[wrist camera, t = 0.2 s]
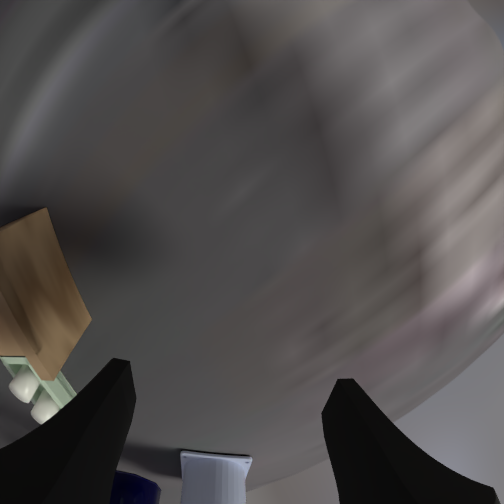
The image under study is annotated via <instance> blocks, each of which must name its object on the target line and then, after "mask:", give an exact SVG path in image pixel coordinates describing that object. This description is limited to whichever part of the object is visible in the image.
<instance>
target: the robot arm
mask: <svg viewBox="0 0 504 504" xmlns="http://www.w3.org/2000/svg"><path fill="white" fill-rule="evenodd" d="M135 403H136V394H135V388H134V383H133V377H132V371H131V365H130V361H127V360H122V359H117V358H113V359H111V360H110V361H109V362H108V363H107V365H106V366H105V367H104V368H103V369H102V370H101V371H100V372H99V373H98V374H97V375H96V376H95V377H94V378H93V379H92V380H91V381H90V382H89V383H88V384H87V385H86V386H85V387H84V388H83V389H82V390H81V391H80V392H79V393H78V394H77V395H76V396H75V397H74V398H73V399H72V400H71V401H70V402H68V403H67V404H66V405H65V406H64V407H63V408H62V409H60V410H59V411H58V412H57V413H56V414H55V415H53V416H52V417H51V418H50V419H48V420H47V421H46V422H44V423H43V424H42V425H40V426H39V427H37V428H36V429H34V430H33V431H31V432H30V433H28V434H27V435H25V436H23V437H22V438H20V439H19V440H17V441H15V442H13V443H11V444H9V445H7V446H5V447H3V448H1V449H0V504H110V497H111V490H112V484H113V479H114V475H115V471H116V468H117V465H118V462H119V459H120V456H121V452H122V449H123V446H124V443H125V440H126V437H127V434H128V431H129V428H130V425H131V422H132V417H133V413H134V408H135ZM321 414H322V423H323V431H324V438H325V442H326V446H327V450H328V453H329V457H330V461H331V465H332V468H333V472H334V476H335V480H336V483H337V488H338V493H339V501H340V504H500V501H499V499H498V497H497V495H496V493H495V490H494V488H493V487H490V486H487V485H484V484H481V483H478V482H476V481H473V480H471V479H469V478H467V477H465V476H462V475H460V474H458V473H457V472H455V471H453V470H451V469H449V468H448V467H446V466H444V465H443V464H441V463H440V462H438V461H437V460H435V459H434V458H432V457H431V456H429V455H428V454H427V453H425V452H424V451H423V450H422V449H421V448H419V447H418V446H417V445H415V444H414V443H413V442H412V441H411V440H410V439H409V438H408V437H406V436H405V435H404V434H403V433H402V432H401V431H400V430H399V429H398V428H397V427H396V426H395V425H394V424H393V423H392V422H391V421H390V420H389V419H388V418H387V416H386V415H385V414H384V413H383V412H382V411H381V410H380V409H379V408H378V407H377V405H376V404H375V403H374V402H373V401H372V400H371V399H370V397H369V396H368V395H367V394H366V393H365V392H364V390H363V389H362V388H361V387H360V386H359V385H358V384H357V382H356V381H355V380H354V379H337V382H336V384H335V386H334V388H333V390H332V392H331V395H330V397H329V399H328V401H327V403H326V405H325V407H324V409H323V411H322V413H321ZM180 456H181V470H182V481H183V485H182V495H181V504H246V495H245V478H246V476H247V473H248V471H249V468H250V465H251V463H252V457H249V456H231V455H218V454H208V453H199V452H191V451H181V453H180Z"/></svg>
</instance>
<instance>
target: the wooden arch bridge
mask: <svg viewBox="0 0 504 504" xmlns="http://www.w3.org/2000/svg"><path fill="white" fill-rule="evenodd" d="M91 320H92V319H91V317H90V315H89V313H88V311H87V309H86V306H85V304H84V302H83V300H82V298H81V296H80V294H79V291H78V289H77V287H76V285H75V282H74V280H73V278H72V275H71V273H70V271H69V268H68V266H67V263H66V261H65V258H64V256H63V253H62V251H61V248H60V245H59V243H58V240H57V237H56V234H55V231H54V228H53V225H52V222H51V219H50V216H49V213H48V210H47V207H46V208H43V209H41V210H38V211H36V212H33V213H31V214H29V215H26V216H24V217H22V218H19V219H17V220H15V221H13V222H10V223H8V224H6V225H4V226H2V227H0V355H1V356H25V357H26V358H27V360H28V361H29V363H30V364H31V366H32V367H33V369H34V370H35V372H36V373H37V375H38V376H39V377H40V379H41V380H46V381H54V380H55V378H56V376H57V375H58V373H59V371H60V369H61V368H62V366H63V364H64V363H65V361H66V359H67V358H68V356H69V355H70V353H71V351H72V350H73V348H74V347H75V345H76V343H77V342H78V340H79V339H80V337H81V336H82V334H83V332H84V331H85V329H86V328H87V326H88V325H89V323H90V322H91Z"/></svg>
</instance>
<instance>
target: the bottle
mask: <svg viewBox="0 0 504 504" xmlns="http://www.w3.org/2000/svg"><path fill="white" fill-rule="evenodd" d="M160 493H161V489H160V488H159V487H158V485H157V484H156V483H154V482H152V481H150V480H147V479H145V478H143V477H140V476H138V475H136V474H131V473H126V472H121V471H115V475H114V479H113V484H112V490H111V497H110V504H159V499H160Z"/></svg>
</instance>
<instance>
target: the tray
mask: <svg viewBox="0 0 504 504" xmlns="http://www.w3.org/2000/svg"><path fill="white" fill-rule="evenodd" d="M0 359H1V361H2V362H3V364H4V365H5V367H6V368H7V369H8V371H9V372H10V374H11V375H12V377H13V378H14V379H13V380H12V382H11V383H10V385H9V388H10V390H11V392H12V393H13V394H14V395H15V396H16V397H17V398H18V399H19V400H21V401H23V402H25V403H29V402H30V400H31V402H32V403H33V404H34V407H33V409H32V411H31V416H32V417H33V418H34V419H35V420H36V421H37V422H38V423H40V424H41V425H42V424H43V423H44V422H46V421H47V420H48V419H50V418H51V417H52V416H53V415H55V414H56V413H57V412H58V411H59V410H60V409H62V408H63V407H64V406H65V405H66V404H67V403H68V402H70V401H71V400H72V399H73V398H74V397H75V396H76V395H77V394H76V392H75V391H74V390H73V388H72V387H71V386H70V384H69V383H68V381H67V380H66V379H65V377H64V376H63V374H62V373H61V371H59V373H58V375H57V376H56V378H55V380H54V381H46V380H41V379H40V377H39V376H38V375H37V373H36V372H35V370H34V369H33V367H32V366H31V364H30V363H29V361H28V360H27V358H26V357H25V356H1V355H0Z"/></svg>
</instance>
